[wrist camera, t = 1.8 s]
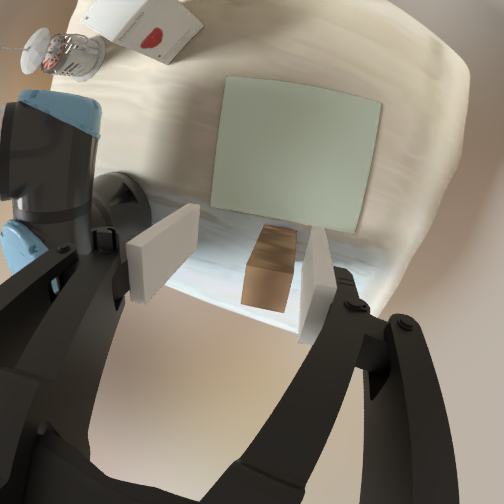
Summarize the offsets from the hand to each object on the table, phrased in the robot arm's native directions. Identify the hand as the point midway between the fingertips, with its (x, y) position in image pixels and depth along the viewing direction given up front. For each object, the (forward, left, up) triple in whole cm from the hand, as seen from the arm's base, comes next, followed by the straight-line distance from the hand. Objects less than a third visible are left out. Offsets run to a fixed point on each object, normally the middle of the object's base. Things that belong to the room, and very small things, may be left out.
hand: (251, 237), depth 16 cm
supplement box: (-21, +22, -25) cm, 40 cm away
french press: (-38, +20, -25) cm, 50 cm away
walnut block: (+1, -10, -25) cm, 27 cm away
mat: (+1, +4, -25) cm, 25 cm away
